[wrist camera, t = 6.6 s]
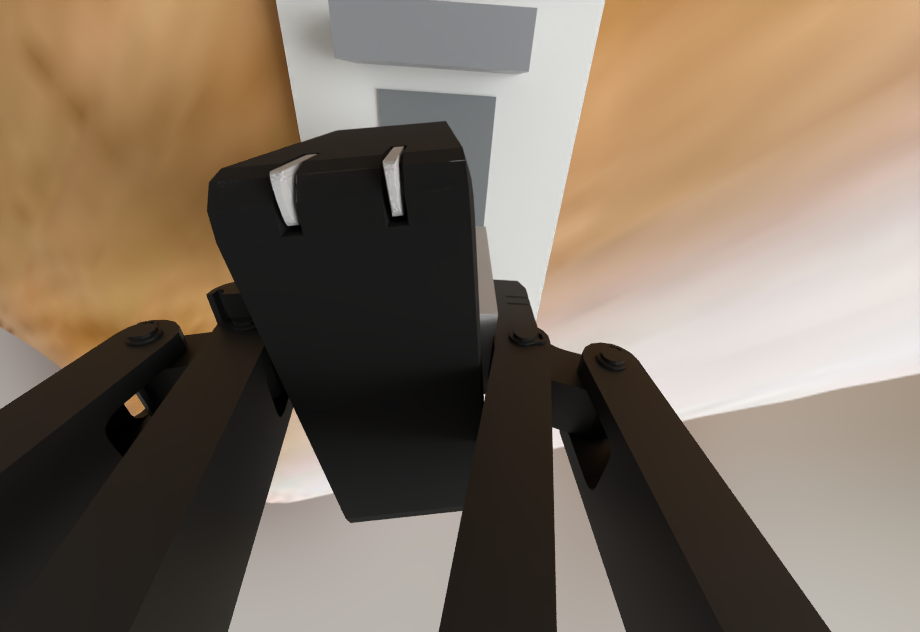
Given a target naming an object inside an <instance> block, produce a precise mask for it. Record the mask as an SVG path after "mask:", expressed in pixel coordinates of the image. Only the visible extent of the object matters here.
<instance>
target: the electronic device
mask: <svg viewBox="0 0 920 632" xmlns="http://www.w3.org/2000/svg"><path fill="white" fill-rule="evenodd" d="M207 212H208V216H209V219H210V222H211V226H212V229H213V233H214V236H215V240H216V243H217V245H218V247H219V249H220V252H221V254H222V256H223V258H224V260H225V262H226V264H227V267H228V269H229V271H230V273H231V275H232V277H233V279H234V281H235V284H236V286H237V288H238V290H239V292H240V294H241V296H242V298H243V301H244V303H245V305H246V307H247V309H248V311H249V313H250V316H251V318H252V320H253V322H254V324H255V326H256V328H257V330H258V333H259V335H260V337H261V339H262V341H263V343H264V345H265V348H266V350H267V352H268V354H269V356H270V358H271V360H272V362H273V365H274V367H275V369H276V371H277V373H278V375H279V377H280V379H281V382H282V384H283V386H284V388H285V390H286V392H287V394H288V397H289V399H290V401H291V403H292V405H293V407H294V409H295V411H296V414H297V416H298V418H299V420H300V422H301V424H302V426H303V429H304V431H305V433H306V435H307V437H308V439H309V441H310V443H311V446H312V448H313V450H314V452H315V454H316V456H317V458H318V460H319V463H320V465H321V467H322V469H323V471H324V473H325V475H326V478H327V480H328V482H329V484H330V486H331V488H332V490H333V492H334V494H335V497H336V499H337V501H338V503H339V505H340V507H341V510H342V511H343V514H344V516H345V518H346V519H347V520H348V521H349V522H350V523H354V522H363V521H371V520H382V519H391V518H400V517H409V516H419V515H428V514H437V513H446V512H456V511H463V506H464V501H465V496H466V491H467V486H468V481H469V476H470V471H471V466H472V461H473V456H474V451H475V446H476V441H477V435H478V430H479V425H480V420H481V415H482V410H483V405H484V392H483V371H482V351H481V330H480V310H479V289H478V268H477V248H476V227H475V209H474V195H473V187H472V179H471V175H470V171H469V167H468V164H467V160H466V157H465V154H464V150H463V147H462V146H461V144H460V142H459V141H458V139H457V138H456V136H455V134H454V133H453V131H452V130H451V128H450V127H449V125H448V123H447V122H446V121H439V122H428V123H416V124H404V125H393V126H381V127H370V128H358V129H346V130H336V131H333V132H330V133H327V134H324V135H321V136H318V137H315V138H312V139H309V140H306V141H303V142H300V143H297V144H294V145H291V146H288V147H285V148H282V149H279V150H276V151H273V152H270V153H267V154H264V155H261V156H258V157H255V158H252V159H249V160H246V161H243V162H240V163H237V164H234V165H230V166H227V167H224V168H221V169H220V170H219V172H218V173H217V174H216V175H215V176H214V177H213V179H212V180H211V181H210V182H209V191H208V205H207Z"/></svg>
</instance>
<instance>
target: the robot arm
mask: <svg viewBox="0 0 920 632" xmlns="http://www.w3.org/2000/svg"><path fill="white" fill-rule="evenodd" d="M475 227H476V248H477V268H478V289H479V310H480V330H481V351H482V371H483V392H484V394H486V395H485V400H484V405H483V410H482V415H481V420H480V425H479V430H478V435H477V441H476V446H475V451H474V456H473V461H472V466H471V471H470V476H469V481H468V486H467V491H466V496H465V501H464V506H463V512H462V517H461V522H460V527H459V532H458V538H457V542H456V547H455V552H454V557H453V562H452V568H451V572H450V577H449V582H448V588H447V593H446V598H445V603H444V608H443V613H442V618H441V623H440V628H439V632H557V626H556V625H557V624H556V623H557V621H556V578H555V533H554V493H553V492H554V491H553V444H552V427H553V428H556V429H559V430H560V435H561V438H562V441H563V444H564V447H565V450H566V453H567V456H568V459H569V462H570V465H571V468H572V471H573V474H574V477H575V480H576V483H577V486H578V489H579V492H580V495H581V498H582V501H583V504H584V507H585V510H586V513H587V516H588V519H589V522H590V525H591V528H592V531H593V534H594V537H595V540H596V543H597V545H598V549H599V552H600V555H601V558H602V561H603V564H604V567H605V570H606V573H607V576H608V579H609V581H610V585H611V588H612V591H613V594H614V597H615V600H616V603H617V606H618V609H619V612H620V615H621V618H622V621H623V624H624V627H625V630H626V632H831V631H830V629H829V628H828V627H827V625H826V624H825V622H824V621H823V620H822V619H821V617H820V616H819V614H818V612H817V611H816V610H815V608H814V607H813V605H812V604H811V603H810V601H809V600H808V599H807V597H806V596H805V594H804V593H803V591H802V590H801V589H800V587H799V586H798V584H797V583H796V582H795V580H794V579H793V577H792V576H791V574H790V573H789V572H788V570H787V569H786V568H785V566H784V565H783V563H782V562H781V560H780V559H779V558H778V556H777V555H776V553H775V552H774V551H773V549H772V548H771V546H770V545H769V544H768V542H767V541H766V539H765V538H764V537H763V535H762V534H761V532H760V531H759V529H758V528H757V527H756V525H755V524H754V522H753V521H752V520H751V518H750V517H749V515H748V514H747V513H746V511H745V510H744V508H743V507H742V506H741V504H740V503H739V501H738V500H737V499H736V497H735V496H734V494H733V493H732V492H731V490H730V489H729V488H728V486H727V484H726V483H725V482H724V480H723V479H722V477H721V476H720V475H719V473H718V472H717V470H716V469H715V468H714V466H713V465H712V463H711V462H710V461H709V459H708V458H707V456H706V455H705V454H704V452H703V451H702V449H701V448H700V446H699V445H698V444H697V442H696V441H695V439H694V438H693V437H692V435H691V434H690V433H689V431H688V430H687V428H686V427H685V425H684V424H683V423H682V421H681V420H680V418H679V417H678V415H677V414H676V413H675V411H674V410H673V408H672V407H671V406H670V404H669V403H668V401H667V400H666V399H665V397H664V396H663V394H662V393H661V392H660V390H659V389H658V387H657V386H656V385H655V383H654V382H653V380H652V379H651V378H650V376H649V375H648V373H647V372H646V370H645V369H644V368H643V366H642V365H641V363H640V362H639V361H638V360H637V359H636V358H635V357H634V356H633V355H632V354H631V353H630V352H628V351H626V350H625V349H623V348H621V347H619V346H615V345H613V344H607V343H593V344H590V345H588V346H586V347H585V348H584V350H583V352H582V355H581V354H577V353H573V352H570V351H566V350H563V349H560V348H557V347H555V346H553V345H551V344H550V340H549V337H548V335H547V334H546V333H545V332H544V331H543V330H541V329H539V328H537V324H536V321H535V318H534V314H533V311H532V308H531V306H530V301H529V299H528V294H527V291H526V288H525V287H524V286H523V285H521V284H520V283H519V282H518V281H511V280H494V279H493V275H492V267H491V260H490V253H489V246H488V239H487V232H486V227H485V226H475ZM206 295H207V298H208V301H209V303H210V306H211V308H212V311H213V313H214V316H215V318H216V321H217V323H218V324H217V326H216V327H215V328H214V330H213V331H212V332H209V333H201V334H193V335H185V336H184V335H183V333H182V330H181V328H180V326H179V325H178V324H177V323H176V322H173V321H169V320H151V321H148V322H147V321H145V322H140V323H138V324H137V325H134V326H131V327H128V328H126V329H124V330H122V331H120V332H118V333H116V334H115V335H113V336H112V337H110V338H109V339H107V340H106V341H104V342H103V343H101V344H100V345H98V346H97V347H95V348H93V349H92V350H90V351H89V352H87V353H86V354H84V355H83V356H81V357H80V358H78V359H77V360H75V361H74V362H72V363H70V364H69V365H67V366H66V367H64V368H63V369H61V370H60V371H58V372H57V373H55V374H54V375H52V376H51V377H49V378H48V379H46V380H44V381H43V382H41V383H40V384H38V385H37V386H35V387H34V388H32V389H31V390H29V391H28V392H26V393H24V394H23V395H22V396H20V397H18V398H17V399H15V400H14V401H12V402H11V403H9V404H8V405H6V406H5V407H3V408H1V409H0V632H228V629H229V625H230V622H231V619H232V615H233V611H234V608H235V605H236V602H237V598H238V595H239V591H240V588H241V585H242V581H243V577H244V574H245V571H246V567H247V564H248V560H249V557H250V554H251V550H252V546H253V543H254V540H255V536H256V533H257V530H258V526H259V523H260V519H261V516H262V512H263V509H264V505H265V502H266V499H267V495H268V492H269V489H270V485H271V482H272V478H273V475H274V471H275V468H276V465H277V461H278V458H279V454H280V451H281V447H282V444H283V441H284V437H285V434H286V430H287V427H288V423H289V420H290V417H291V413H292V410H293V405H292V403H291V401H290V399H289V397H288V394H287V392H286V390H285V388H284V386H283V384H282V382H281V379H280V377H279V375H278V373H277V371H276V369H275V367H274V365H273V362H272V360H271V358H270V356H269V354H268V352H267V350H266V348H265V345H264V343H263V341H262V339H261V337H260V335H259V333H258V330H257V328H256V326H255V324H254V322H253V320H252V318H251V316H250V313H249V311H248V309H247V307H246V305H245V303H244V301H243V298H242V296H241V294H240V292H239V290H238V288H237V286H236V284H235V282H232V283H228V284H225V285H222V286H219V287H217V288H215V289H213V290H211V291H210V292H209V293H208V294H206ZM135 394H137V396H138V398H139V399H140V401H141V402H142V404H143V405H144V407H145V409H144V410H143V411H142V412H141V413H140V414H138V415H136V416H135V417H134V416H132V415H131V414H130V412H129V411H128V410H127V408H126V407H125V405H124V403H125V402H126V401H128V400H129V399H130V398H131V397H132V396H133V395H135Z"/></svg>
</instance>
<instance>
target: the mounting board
mask: <svg viewBox="0 0 920 632" xmlns="http://www.w3.org/2000/svg"><path fill="white" fill-rule="evenodd" d="M604 3H605V0H276V4H277V10H278V15H279V21H280V27H281V32H282V38H283V44H284V49H285V55H286V61H287V66H288V72H289V78H290V83H291V89H292V95H293V100H294V106H295V111H296V117H297V123H298V128H299V134H300V140H301V142H303V141H306V140H309V139H312V138H315V137H318V136H321V135H324V134H327V133H330V132H333V131H336V130H346V129H358V128H370V127H381V126H393V125H404V124H416V123H428V122H439V121H446V122H447V123H448V125H449V127H450V128H451V130H452V131H453V133H454V134H455V136H456V138H457V139H458V141H459V142H460V144H461V146H462V147H463V150H464V154H465V157H466V160H467V164H468V167H469V171H470V175H471V179H472V187H473V195H474V209H475V226H485V227H486V232H487V239H488V246H489V253H490V260H491V267H492V275H493V279H494V280H511V281H518V282H519V283H520V284H521V285H523V286H524V287H525V288H526V291H527V294H528V299H529V301H530V306H531V308H532V311H533V314H534V318H535V321H536V318H537V313H538V308H539V304H540V299H541V294H542V290H543V285H544V281H545V276H546V271H547V267H548V262H549V257H550V253H551V248H552V244H553V239H554V234H555V230H556V225H557V220H558V216H559V211H560V207H561V202H562V197H563V193H564V188H565V183H566V179H567V174H568V170H569V165H570V160H571V156H572V151H573V146H574V142H575V137H576V133H577V128H578V123H579V119H580V114H581V109H582V105H583V100H584V96H585V91H586V86H587V82H588V77H589V72H590V68H591V63H592V59H593V54H594V49H595V45H596V40H597V35H598V31H599V26H600V22H601V17H602V12H603V8H604Z"/></svg>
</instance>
